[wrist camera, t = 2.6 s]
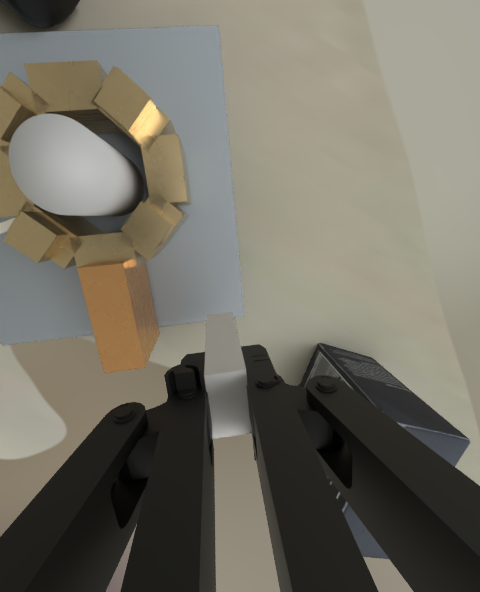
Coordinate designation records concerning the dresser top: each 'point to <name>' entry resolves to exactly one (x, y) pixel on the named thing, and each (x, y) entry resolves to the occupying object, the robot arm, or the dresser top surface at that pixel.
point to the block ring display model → (124, 179)
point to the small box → (395, 404)
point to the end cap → (42, 10)
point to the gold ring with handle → (77, 230)
